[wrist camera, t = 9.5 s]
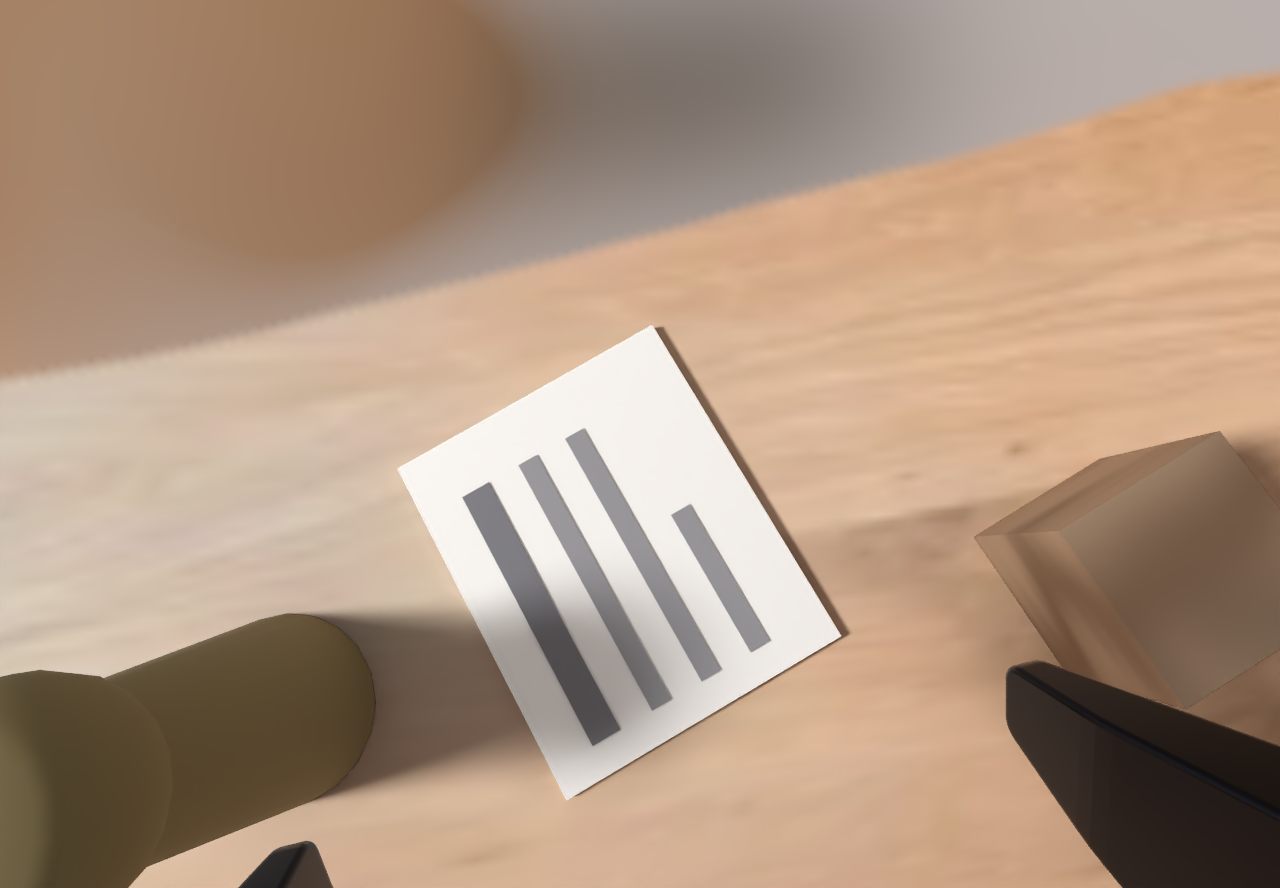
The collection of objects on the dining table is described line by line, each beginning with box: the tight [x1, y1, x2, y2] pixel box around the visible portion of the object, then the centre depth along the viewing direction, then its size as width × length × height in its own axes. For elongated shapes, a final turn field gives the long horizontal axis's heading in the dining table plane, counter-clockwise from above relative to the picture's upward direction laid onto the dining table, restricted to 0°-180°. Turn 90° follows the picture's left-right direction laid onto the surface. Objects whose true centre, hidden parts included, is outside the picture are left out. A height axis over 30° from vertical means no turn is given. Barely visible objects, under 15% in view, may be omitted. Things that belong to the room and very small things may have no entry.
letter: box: [398, 325, 841, 801], centre depth 22 cm, size 12×10×1 cm
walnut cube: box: [974, 431, 1280, 709], centre depth 19 cm, size 5×5×5 cm
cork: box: [0, 614, 375, 888], centre depth 17 cm, size 6×6×11 cm
